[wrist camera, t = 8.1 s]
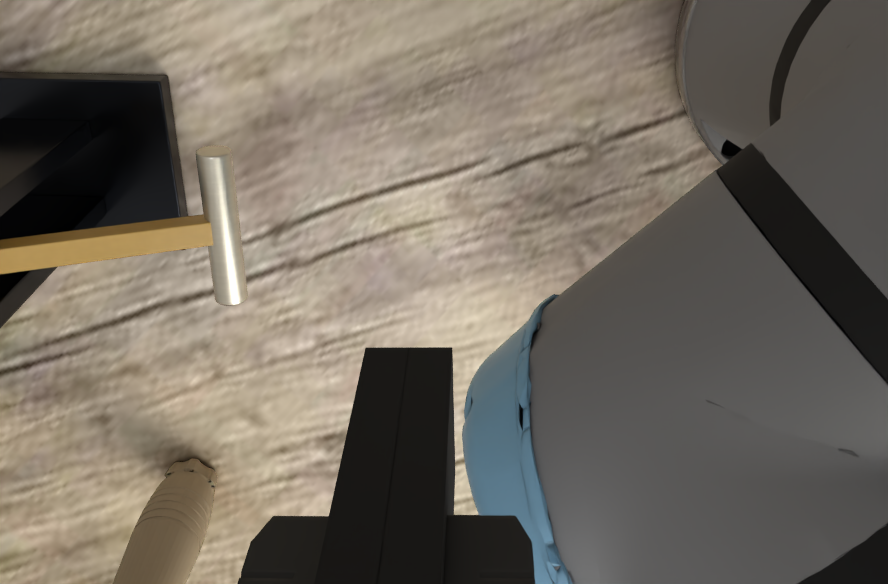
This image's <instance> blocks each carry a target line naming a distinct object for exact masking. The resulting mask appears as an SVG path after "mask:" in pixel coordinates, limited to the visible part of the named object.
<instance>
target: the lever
mask: <svg viewBox="0 0 888 584" xmlns="http://www.w3.org/2000/svg"><path fill="white" fill-rule="evenodd" d="M196 160H197V168H198V175H199V183H200V190H201V198H202V205H203V212H204V214H203V215H195V216H187V217H179V218H171V219H163V220H155V221H147V222H139V223H131V224H123V225H115V226H107V227H99V228H91V229H83V230H75V231H67V232H59V233H51V234H43V235H35V236H27V237H19V238H11V239H3V240H0V274H6V273H13V272H20V271H28V270H35V269H43V268H50V267H57V266H65V265H72V264H79V263H87V262H94V261H101V260H109V259H116V258H123V257H131V256H138V255H145V254H153V253H160V252H167V251H175V250H182V249H189V248H197V247H204V246H208V250H209V257H210V265H211V272H212V279H213V287H214V294H215V300H216V302H217V303H219V304H221V305H226V306H232V305H237V304H240V303H242V302H244V301H245V300H246V299H247V297H248V294H247V285H246V276H245V267H244V258H243V249H242V240H241V231H240V223H239V214H238V205H237V196H236V187H235V178H234V169H233V161H232V152H231V149H230V148H228V147H226V146H219V145H214V146H206V147H203V148H200V149H198V150H197V151H196Z"/></svg>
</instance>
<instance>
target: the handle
mask: <svg viewBox="0 0 888 584" xmlns="http://www.w3.org/2000/svg"><path fill="white" fill-rule="evenodd" d="M165 476H166V479H164V480H163V481H162V483H161V484H160V485H159V486H158V488H157V489H156V490H155V492H154V493H153V495H152V496H151V498H150V500H149V501H148V503H147V505H146V507H145V508H144V510H143V512H142V514H141V516H140V518H139V520H138V522H137V524H136V526H135V528H134V531H133V532H132V535H131V538H130V540H129V543H128V545H127V548H126V551H125V553H124V556H123V559H122V561H121V564H120V566H119V569H118V572H117V574H116V577H115V579H114V582H113V584H185V583H186V581H187V579H188V577H189V575H190V573H191V570H192V568H193V566H194V564H195V562H196V560H197V557H198V555H199V552H200V549H201V547H202V544H203V541H204V538H205V535H206V532H207V528H208V525H209V521H210V517H211V513H212V507H213V501H214V499H213V498H214V492H215V487H216V483H217V474H216V472H215V471H214V470H213V469H212V468H208V467H206V466H204V465H203V464H202V463H201V462H200V461H199V460H198V459H190V460H189V461H186V462H175V463H174V464H173V465H172V466H171V467H170V468H169V469H168V471H167V473H166V474H165Z"/></svg>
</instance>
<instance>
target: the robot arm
mask: <svg viewBox="0 0 888 584" xmlns="http://www.w3.org/2000/svg"><path fill="white" fill-rule="evenodd" d="M675 69H676V79H677V84H678V89H679V93H680V97H681V100H682V103H683V106H684V109H685V111H686V113H687V116H688V118H689V120H690V122H691V124H692V125H693V127H694V129H695V130H696V132H697V134H698V135H699V136H700V138H701V139H702V140H703V142H704V143H705V145H706V146H707V147H708V148H709V150H710V151H711V152H712V154H713V155H714V156H715V157H716V158H717V160H718V161H719V162H720V163H721V164H722V165H723V166H721V167H720V168H719V169H718V170H715V171H714V172H713V173H711V174H710V175H709V176H708V177H706V178H705V179H704V180H703V181H701V182H700V183H699V184H698V185H696V186H695V187H694V188H693V189H691V190H690V191H689V192H688V193H686V194H685V195H684V196H683V197H681V198H680V199H679V200H678V201H676V202H675V203H674V204H673V205H671V206H670V207H669V208H668V209H666V210H665V211H664V212H663V213H661V214H660V215H659V216H658V217H656V218H655V219H654V220H653V221H651V222H650V223H649V224H648V225H646V226H645V227H644V228H643V229H641V230H640V231H639V232H638V233H636V234H635V235H634V236H633V237H631V238H630V239H629V240H628V241H626V242H625V243H624V244H623V245H621V246H620V247H619V248H618V249H616V250H615V251H614V252H613V253H612V254H610V255H609V256H608V257H607V258H605V259H604V260H603V261H602V262H600V263H599V264H598V265H597V266H595V267H594V268H593V269H592V270H590V271H589V272H588V273H587V274H585V275H584V276H583V277H582V278H580V279H579V280H578V281H577V282H575V283H574V284H573V285H572V286H570V287H569V288H568V289H567V290H565V291H564V292H563V293H562V294H560V295H555V294H554V295H552V296H550V297H549V298H547V299H545V300H544V301H543V302H542V303H541V304H540V305H539V306H538V307H537V308H536V309H535V310H534V312H533V314H532V315H531V317H530V319H529V321H528V322H527V323H526V324H524V325H523V326H522V327H521V328H520V329H519V330H518V331H517V332H516V333H514V334H513V335H512V336H511V337H510V338H509V339H508V340H507V341H506V342H504V343H503V344H502V345H501V346H500V347H499V348H498V349H497V350H496V351H494V352H493V353H492V354H491V355H490V356H489V357H488V358H487V359H486V360H485V361H484V362H483V364H482V365H481V366H480V367H479V369H478V370H477V372H476V374H475V375H474V377H473V379H472V381H471V384H470V386H469V389H468V392H467V397H466V403H465V409H464V415H465V423H464V426H463V431H462V440H463V451H464V459H465V465H466V471H467V475H468V480H469V484H470V488H471V492H472V495H473V499H474V502H475V505H476V508H477V511H478V513H479V515H454V488H455V446H454V403H453V359H452V348H366V349H365V353H364V358H363V362H362V367H361V372H360V376H359V381H358V385H357V390H356V395H355V399H354V404H353V408H352V413H351V418H350V422H349V427H348V431H347V436H346V440H345V445H344V450H343V454H342V459H341V463H340V468H339V473H338V477H337V482H336V486H335V491H334V495H333V500H332V505H331V509H330V514H329V516H273V517H272V518H271V519H270V521H269V522H268V523H267V524H266V525H265V526H264V528H263V529H262V530H261V531H260V532H259V533H258V534H257V536H256V537H255V538H254V539H253V540H252V541H251V543H250V547H249V550H248V553H247V556H246V559H245V562H244V565H243V568H242V572H241V578H239V581H238V584H888V0H684V3H683V7H682V10H681V14H680V17H679V22H678V28H677V33H676V44H675Z"/></svg>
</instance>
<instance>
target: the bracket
mask: <svg viewBox="0 0 888 584" xmlns="http://www.w3.org/2000/svg"><path fill="white" fill-rule="evenodd" d="M187 216H188V214H187V207H186V200H185V193H184V186H183V179H182V173H181V166H180V159H179V152H178V145H177V138H176V131H175V124H174V117H173V110H172V103H171V96H170V89H169V82H168V77H167V76H166V75H127V74H77V73H26V72H0V240H3V239H11V238H19V237H27V236H35V235H43V234H51V233H59V232H67V231H75V230H83V229H91V228H99V227H107V226H115V225H123V224H131V223H139V222H147V221H155V220H163V219H171V218H179V217H187ZM182 250H185V249H182ZM57 267H58V266H57ZM57 267H50V268H43V269H35V270H28V271H20V272H13V273H6V274H0V328H1V327H2V326H3V325H4V324H5V323H6V322H7V321H8V319H9V318H10V317H11V316H12V315H13V314H14V313H15V312H16V311H17V310H18V309H19V308H20V307H21V305H22V304H23V303H24V302H25V301H26V300H27V299H28V298H29V297H30V296H31V295H32V294H33V293H34V292H35V290H36V289H37V288H38V287H39V286H40V285H41V284H42V283H43V282H44V281H45V280H46V279H47V278H48V277H49V275H50V274H51V273H52V272H53V271H54V270H55V269H56V268H57Z"/></svg>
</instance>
